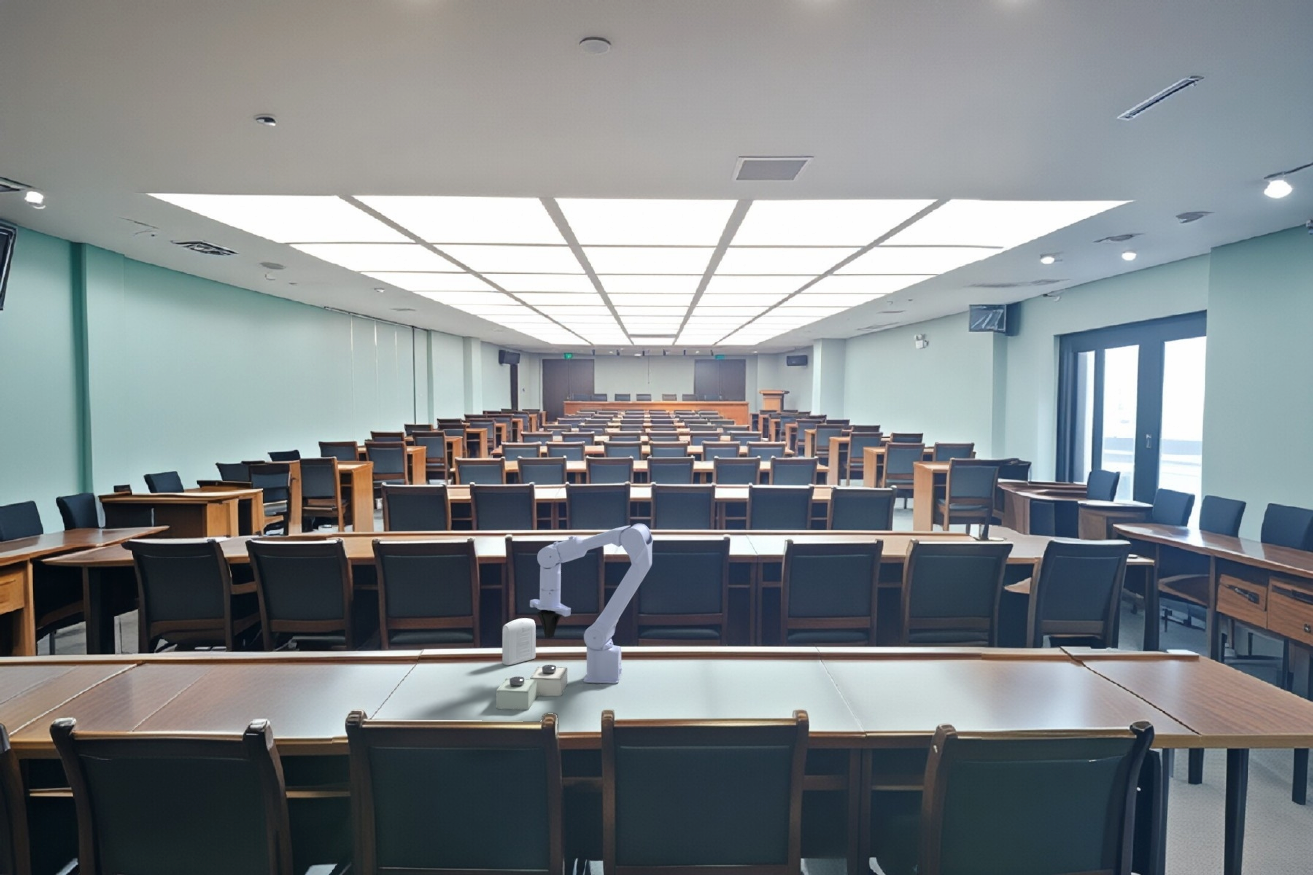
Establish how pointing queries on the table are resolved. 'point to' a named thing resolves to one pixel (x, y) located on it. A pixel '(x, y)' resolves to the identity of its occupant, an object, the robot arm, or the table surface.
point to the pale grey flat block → (516, 695)
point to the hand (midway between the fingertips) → (549, 636)
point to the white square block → (550, 681)
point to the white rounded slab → (518, 641)
